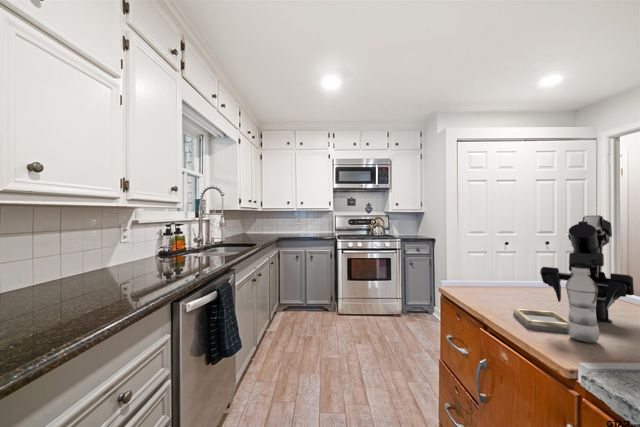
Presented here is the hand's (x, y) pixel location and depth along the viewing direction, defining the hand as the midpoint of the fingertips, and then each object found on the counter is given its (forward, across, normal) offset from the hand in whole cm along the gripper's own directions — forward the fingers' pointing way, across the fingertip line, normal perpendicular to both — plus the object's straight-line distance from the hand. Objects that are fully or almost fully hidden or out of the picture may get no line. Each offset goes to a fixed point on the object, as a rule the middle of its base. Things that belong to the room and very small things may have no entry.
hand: (581, 304), depth 73 cm
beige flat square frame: (+2, -10, +12) cm, 16 cm away
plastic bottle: (+6, 0, +8) cm, 10 cm away
